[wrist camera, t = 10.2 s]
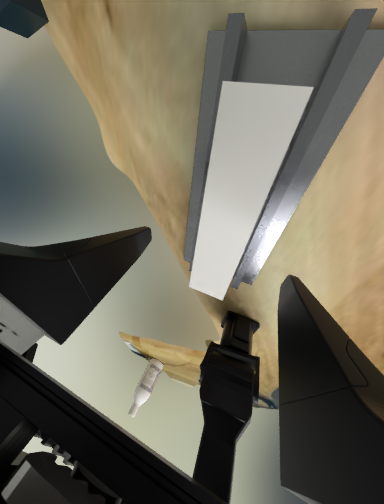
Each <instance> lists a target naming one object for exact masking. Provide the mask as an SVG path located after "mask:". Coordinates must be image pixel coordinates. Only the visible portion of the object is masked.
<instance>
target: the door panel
mask: <svg viewBox="0 0 384 504" xmlns="http://www.w3.org/2000/svg"><path fill="white" fill-rule="evenodd" d="M313 88H314V87H306V86H291V85H276V84H260V83H245V82H230V81H223V83H222V89H221V95H220V101H219V107H218V113H217V119H216V125H215V131H214V138H213V144H212V150H211V156H210V162H209V168H208V174H207V180H206V186H205V192H204V198H203V205H202V211H201V217H200V223H199V229H198V235H197V241H196V247H195V253H194V259H193V266H192V272H191V278H190V284H189V287H190V288H193V289H195V290H198V291H200V292H202V293H205V294H207V295H210V296H212V297H215V298H217V299H220V300H222V301H223V298H224V296H225V294H226V291H227V289H228V287H229V284H230V282H231V280H232V277H233V275H234V273H235V270H236V268H237V266H238V263H239V261H240V259H241V256H242V254H243V252H244V249H245V247H246V245H247V242H248V240H249V238H250V235H251V233H252V231H253V228H254V226H255V224H256V221H257V219H258V217H259V214H260V212H261V210H262V207H263V205H264V203H265V200H266V198H267V196H268V193H269V191H270V189H271V186H272V184H273V182H274V179H275V177H276V175H277V172H278V170H279V167H280V165H281V163H282V160H283V158H284V156H285V153H286V151H287V149H288V146H289V144H290V142H291V139H292V137H293V135H294V132H295V130H296V128H297V125H298V123H299V121H300V118H301V116H302V114H303V111H304V109H305V107H306V104H307V102H308V100H309V97H310V95H311V93H312V90H313Z"/></svg>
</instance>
